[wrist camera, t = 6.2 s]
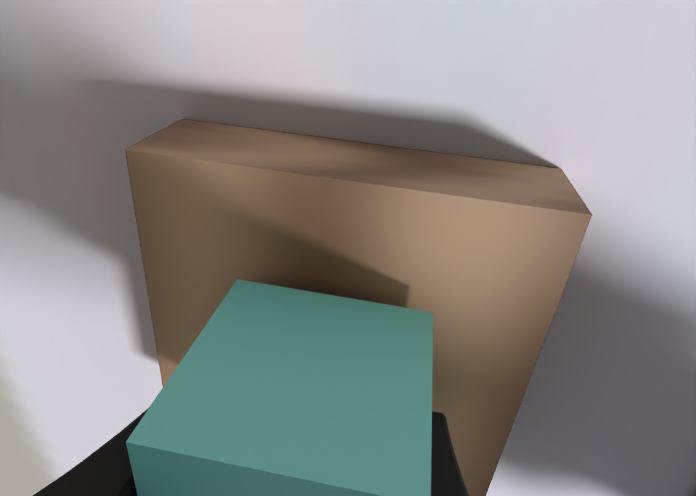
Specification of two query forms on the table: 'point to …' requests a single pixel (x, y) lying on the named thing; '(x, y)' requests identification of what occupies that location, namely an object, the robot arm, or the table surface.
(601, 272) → the table surface
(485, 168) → the walnut base
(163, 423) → the teal cube
